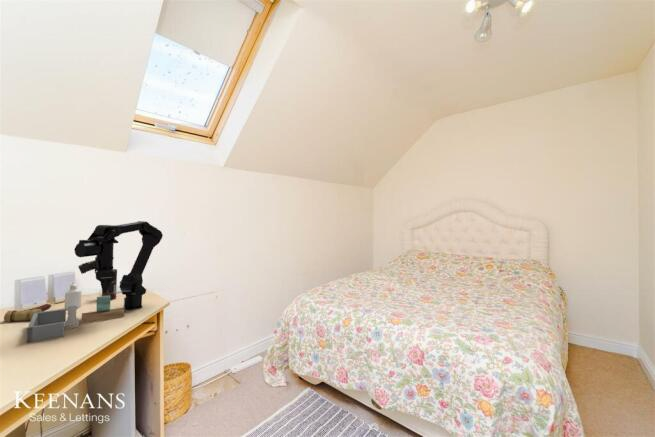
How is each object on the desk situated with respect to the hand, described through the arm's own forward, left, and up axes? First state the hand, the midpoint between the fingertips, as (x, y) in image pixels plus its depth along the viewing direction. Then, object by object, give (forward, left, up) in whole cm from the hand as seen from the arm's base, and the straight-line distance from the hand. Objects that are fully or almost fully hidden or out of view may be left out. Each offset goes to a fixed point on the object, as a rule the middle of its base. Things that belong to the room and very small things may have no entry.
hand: (103, 290), depth 124 cm
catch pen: (+16, +6, -12) cm, 21 cm away
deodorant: (-4, -31, -12) cm, 33 cm away
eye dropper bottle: (+10, -23, -12) cm, 27 cm away
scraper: (0, +1, -12) cm, 12 cm away
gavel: (+22, -21, -12) cm, 33 cm away
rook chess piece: (+10, +6, -12) cm, 17 cm away
